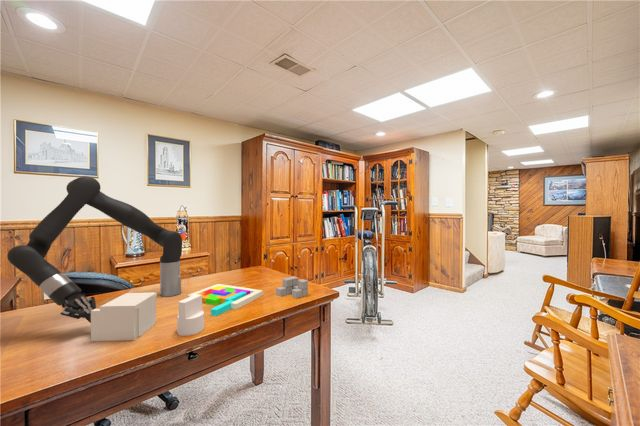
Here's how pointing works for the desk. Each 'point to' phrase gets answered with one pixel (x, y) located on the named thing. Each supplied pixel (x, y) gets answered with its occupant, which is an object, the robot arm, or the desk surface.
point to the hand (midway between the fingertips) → (96, 321)
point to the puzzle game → (227, 297)
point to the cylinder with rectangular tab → (190, 316)
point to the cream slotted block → (124, 317)
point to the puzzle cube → (293, 287)
